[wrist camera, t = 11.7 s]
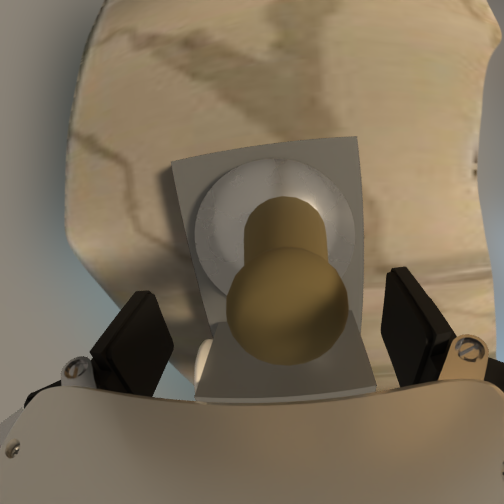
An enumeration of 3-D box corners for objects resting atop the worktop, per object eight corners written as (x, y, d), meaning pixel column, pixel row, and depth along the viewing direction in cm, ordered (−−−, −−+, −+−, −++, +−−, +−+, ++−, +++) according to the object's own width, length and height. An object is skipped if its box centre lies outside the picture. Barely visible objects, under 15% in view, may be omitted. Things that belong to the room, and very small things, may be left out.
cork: (230, 214, 20) (179, 291, 10) (309, 183, 19) (344, 232, 8) (262, 284, 22) (247, 396, 12) (336, 259, 20) (377, 361, 10)
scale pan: (184, 171, 20) (180, 173, 19) (346, 150, 18) (349, 150, 17) (215, 309, 24) (212, 315, 23) (352, 296, 23) (354, 302, 22)
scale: (183, 159, 23) (104, 178, 12) (347, 137, 21) (410, 134, 10) (226, 349, 30) (203, 438, 19) (352, 338, 28) (376, 428, 17)
